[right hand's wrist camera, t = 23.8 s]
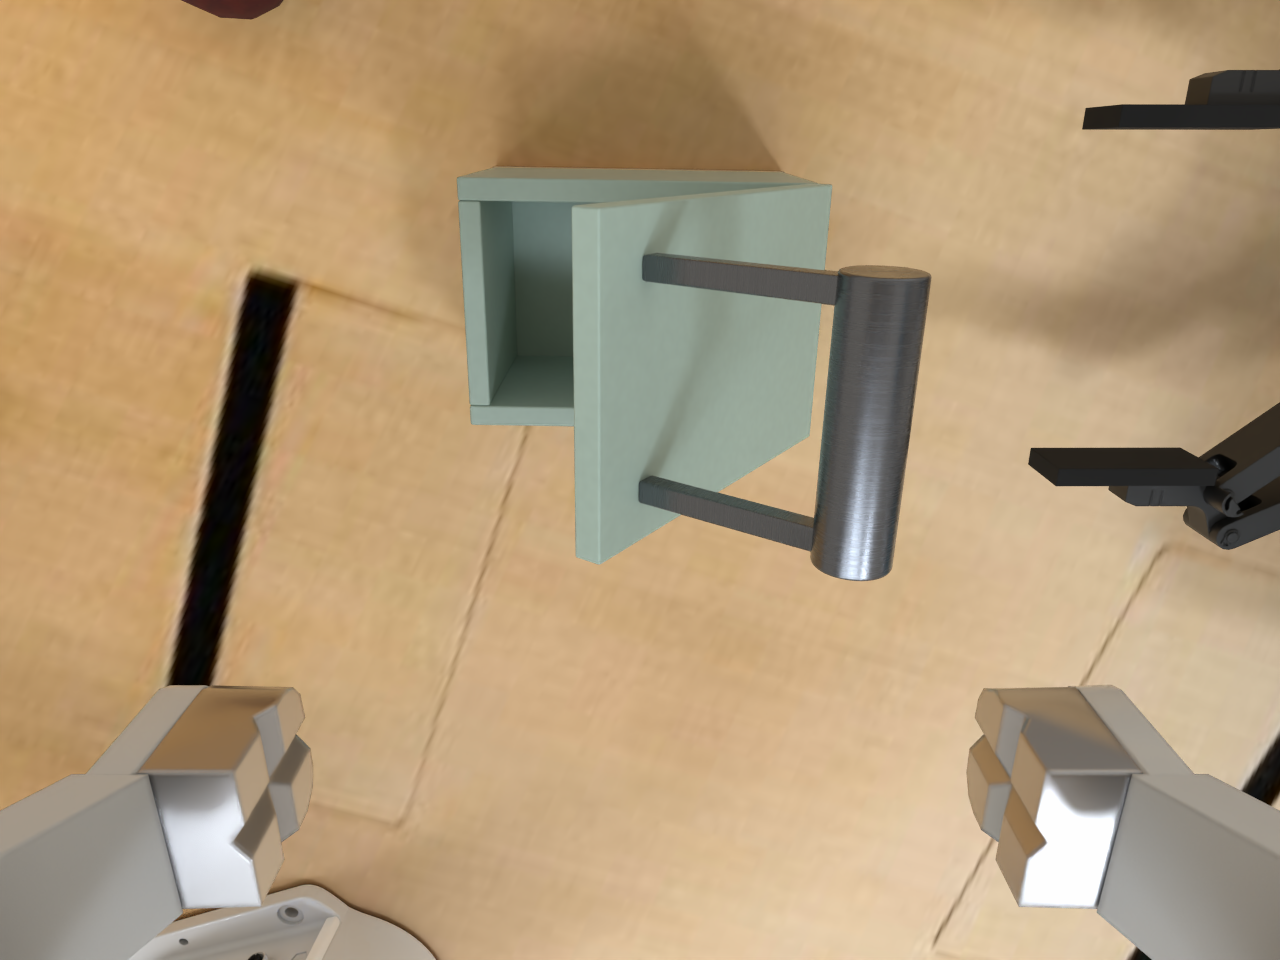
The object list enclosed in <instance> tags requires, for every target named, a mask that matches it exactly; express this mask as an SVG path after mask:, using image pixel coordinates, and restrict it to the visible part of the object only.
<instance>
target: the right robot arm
mask: <svg viewBox="0 0 1280 960" xmlns="http://www.w3.org/2000/svg"><path fill="white" fill-rule="evenodd" d="M304 719H305V714H304V710H303V705H302V700H301V695H300V693H298V692H297V691H296V690H295V689H294V688H293V687H253V686H210V687H209V686H206V685H187V686H167V687H164V688H161V689H159V690H158V691H157V692H156V693H155V694H154V696H153V697H152V698H151V699H150V700H149V701H148V703H147V704H146V705H145V706H144V707H143V708H142V709H141V711H140V712H139V713H138V714H137V715H136V716H135V718H134V719H133V720H132V721H131V722H130V723H129V724H128V726H127V727H126V728H125V729H124V730H123V731H122V733H121V734H120V735H119V736H118V737H117V738H116V740H115V741H114V742H113V743H112V744H111V745H110V746H109V748H108V749H107V750H106V751H105V752H104V753H103V755H102V756H101V757H100V758H99V759H98V760H97V761H96V763H95V764H94V765H93V766H92V767H91V768H90V770H89V771H88V772H87V773H86V774H71V775H69V776H67V777H65V778H63V779H61V780H60V781H58V782H56V783H54V784H52V785H50V786H48V787H46V788H44V789H42V790H40V791H38V792H36V793H34V794H32V795H30V796H28V797H26V798H24V799H22V800H20V801H18V802H16V803H14V804H12V805H10V806H8V807H7V808H5V809H3V810H1V811H0V960H436V959H435V957H434V956H433V955H432V953H431V952H430V951H429V950H428V949H427V948H426V947H425V946H424V945H423V944H422V943H421V942H420V941H418V940H417V939H416V938H415V937H413V936H412V935H411V934H409V933H408V932H406V931H404V930H403V929H401V928H399V927H397V926H395V925H394V924H391V923H389V922H387V921H385V920H382V919H379V918H377V917H374V916H371V915H368V914H365V913H362V912H359V911H357V910H354V909H352V908H350V907H349V906H347V905H346V904H345V903H343V902H342V901H341V900H339V899H338V898H337V897H335V896H334V895H333V894H331V893H330V892H328V891H327V890H325V889H323V888H321V887H319V886H316V885H310V884H308V885H301V886H297V887H294V888H290V889H287V890H283V891H280V892H276V893H273V894H269V895H267V894H268V892H269V890H270V888H271V886H272V884H273V882H274V880H275V878H276V876H277V874H278V872H279V870H280V868H281V865H282V863H283V861H284V855H283V849H282V844H281V842H282V841H284V840H285V839H287V838H288V837H289V836H291V835H292V834H294V833H295V832H296V831H298V830H299V828H300V826H301V824H302V822H303V820H304V817H305V815H306V813H307V811H308V806H309V802H310V797H311V792H312V788H313V762H312V756H311V749H310V748H309V747H308V746H307V745H306V744H305V743H304V742H303V741H302V740H301V739H300V738H299V737H298V736H297V735H296V733H297V731H298V729H299V728H300V726H301V724H302V722H303V720H304ZM975 719H976V720H977V722H978V724H979V726H980V728H981V729H982V731H983V733H984V735H983V736H982V737H981V738H980V739H979V740H978V741H977V742H976V743H975V744H974V745H973V746H972V747H971V748H970V749H969V757H968V765H967V783H968V796H969V799H970V803H971V806H972V810H973V813H974V815H975V818H976V820H977V822H978V824H979V826H980V828H981V830H982V831H984V832H985V833H986V834H988V835H989V836H991V837H992V838H993V839H995V840H996V841H998V842H999V844H998V849H997V855H996V861H997V863H998V865H999V868H1000V870H1001V872H1002V874H1003V876H1004V878H1005V880H1006V882H1007V884H1008V886H1009V888H1010V890H1011V892H1012V894H1013V896H1014V898H1015V900H1016V902H1017V904H1018V906H1019V907H1048V908H1084V909H1097V913H1098V914H1099V915H1100V916H1101V917H1103V918H1104V919H1105V920H1106V921H1107V922H1108V923H1110V924H1111V925H1112V926H1113V927H1114V928H1116V929H1117V930H1118V931H1119V932H1120V933H1121V934H1123V935H1124V936H1125V937H1126V938H1127V939H1128V940H1130V941H1131V942H1132V943H1133V944H1134V945H1136V946H1137V947H1138V948H1139V949H1140V950H1141V951H1143V952H1144V953H1145V954H1146V955H1147V956H1148V957H1150V958H1151V959H1152V960H1280V811H1279V810H1277V809H1275V808H1273V807H1271V806H1269V805H1267V804H1265V803H1264V802H1262V801H1260V800H1258V799H1256V798H1254V797H1252V796H1250V795H1248V794H1246V793H1244V792H1242V791H1240V790H1238V789H1236V788H1234V787H1232V786H1230V785H1228V784H1226V783H1224V782H1222V781H1220V780H1218V779H1217V778H1215V777H1213V776H1211V775H1209V774H1194V773H1193V772H1192V771H1191V770H1190V768H1189V767H1188V766H1187V765H1186V764H1185V763H1184V762H1183V760H1182V759H1181V758H1180V757H1179V756H1178V755H1177V753H1176V752H1175V751H1174V750H1173V749H1172V748H1171V746H1170V745H1169V744H1168V743H1167V742H1166V741H1165V740H1164V738H1163V737H1162V736H1161V735H1160V734H1159V733H1158V731H1157V730H1156V729H1155V728H1154V727H1153V726H1152V725H1151V723H1150V722H1149V721H1148V720H1147V719H1146V718H1145V716H1144V715H1143V714H1142V713H1141V712H1140V711H1139V710H1138V708H1137V707H1136V706H1135V705H1134V704H1133V703H1132V701H1131V700H1130V699H1129V698H1128V697H1127V696H1126V694H1125V693H1124V692H1123V691H1122V690H1121V689H1119V688H1117V687H1114V686H1112V685H1092V686H1069V687H1049V688H984V689H983V691H982V693H981V695H980V697H979V699H978V703H977V709H976V714H975ZM196 908H220V909H217V910H213V911H210V912H206V913H203V914H199V915H196V916H192V917H189V918H185V919H182V920H178V921H175V922H173V921H174V920H175V919H177V918H178V917H179V916H180V915H181V914H183V910H182V909H196Z"/></svg>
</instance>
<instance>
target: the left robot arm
mask: <svg viewBox="0 0 1280 960" xmlns="http://www.w3.org/2000/svg"><path fill="white" fill-rule="evenodd" d="M1279 128H1280V70H1226V71H1219V72H1212V73H1205V74H1202V75H1200V76H1197V77H1195V78H1192V79H1190V81H1189V86H1188V91H1187V96H1186V101H1185V105H1113V106H1103V107H1093V108H1086V110H1085V116H1084V122H1083V128H1082V129H1196V130H1252V129H1279ZM1028 464H1029V465H1030V466H1031V467H1032V468H1034V469H1035V470H1036V471H1037V472H1039V473H1040V474H1041V475H1043V476H1044V477H1045V478H1046V479H1048V480H1049V481H1050V482H1051V483H1053V484H1054V485H1055V486H1109V490H1110V491H1111V492H1112V493H1114V494H1115V495H1117V496H1118V497H1119V498H1121V499H1122V500H1124V501H1125V502H1127V503H1130V504H1132V505H1135V506H1187V509H1186V510H1185V512H1184V515H1183V520H1184V522H1185V524H1186V525H1188V526H1189V527H1191V528H1192V529H1194V530H1195V531H1196V532H1198V533H1199V534H1201V535H1202V536H1204V537H1205V538H1207V539H1208V540H1210V541H1211V542H1213V543H1215V544H1216V545H1218V546H1219V547H1221V548H1222V549H1227V550H1229V549H1233V548H1236V547H1239V546H1241V545H1243V544H1246V543H1248V542H1251V541H1253V540H1256V539H1258V538H1260V537H1263V536H1265V535H1268V534H1270V533H1273V532H1275V531H1278V530H1280V403H1278V404H1277V405H1275V406H1274V407H1272V408H1271V409H1269V410H1268V411H1266V412H1265V413H1263V414H1262V415H1261V416H1259V417H1258V418H1256V419H1255V420H1253V421H1252V422H1250V423H1249V424H1247V425H1246V426H1244V427H1243V428H1241V429H1240V430H1239V431H1237V432H1236V433H1234V434H1233V435H1231V436H1230V437H1228V438H1227V439H1225V440H1224V441H1222V442H1221V443H1219V444H1218V445H1216V446H1215V447H1214V448H1212V449H1211V450H1209V451H1208V452H1206V453H1205V454H1203V455H1202V456H1200V457H1199V458H1198V457H1196V456H1195V455H1193V454H1191V453H1189V452H1187V451H1185V450H1183V449H1182V448H1031V451H1030V457H1029V463H1028Z"/></svg>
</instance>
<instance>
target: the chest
mask: <svg viewBox="0 0 1280 960" xmlns="http://www.w3.org/2000/svg"><path fill="white" fill-rule="evenodd" d="M801 184H818V183H815V182H812V181H809V180H806V179H802V178H799V177H796V176H793V175H790V174H787V173H784V172H782V171H740V170H681V169H622V168H563V167H504V166H495V167H493V168H490V169H487V170H483V171H479V172H475V173H472V174H468V175H464V176H461V177H458V178H457V190H458V199H459V200H460V201H459V202H458V207H459V224H460V242H461V259H462V277H463V294H464V312H465V329H466V347H467V364H468V382H469V399H470V405H471V406H470V416H471V424H473V425H525V426H574V370H573V287H572V206H574V205H584V204H595V203H606V202H617V201H627V200H638V199H649V198H660V197H671V196H682V195H692V194H703V193H714V192H725V191H736V190H747V189H757V188H768V187H779V186H790V185H801Z"/></svg>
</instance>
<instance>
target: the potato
mask: <svg viewBox="0 0 1280 960" xmlns="http://www.w3.org/2000/svg"><path fill="white" fill-rule="evenodd" d="M182 1H184V2H186V3H189V4H191V5H193V6H196V7H198V8H200V9H202V10H205V11H207V12H209V13H211V14H214V15H216V16H218V17H221V18H238V19H254V18H257V17H259V16H260V15H262V14H264V13H266V12H268V11H270V10H272V9H274V8H276V7H278V6H279V5H280V4H281V3H282V1H283V0H182Z"/></svg>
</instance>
